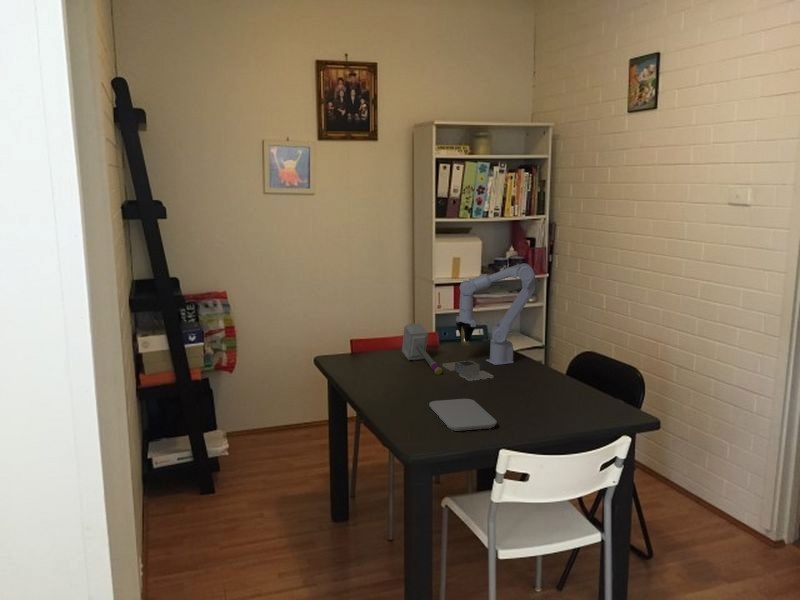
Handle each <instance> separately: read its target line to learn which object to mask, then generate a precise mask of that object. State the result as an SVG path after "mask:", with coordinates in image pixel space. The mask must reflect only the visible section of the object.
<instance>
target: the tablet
mask: <svg viewBox="0 0 800 600" xmlns="http://www.w3.org/2000/svg"><path fill="white" fill-rule="evenodd" d="M428 406H429V408H431V409H432V410H433V411H434V412H435V413H436V414H437V415H438V416H439V418H440V419H441V420H442V421H443V422H444V423H445V424H446V425H447V427H448V428H449V429H451V430H454V431H460V430H461V431H462V430H472V429H482V428H484V429H485V428H491V427H494V428H495V426H497V420H496V419H495V418H494V417H493V416H492V415H491V414H490V413H488V412H487V411H486V410H485V409H484V408H483V407H482V406H481V405H480V404H479V403H477V402H476V401H475V400H473V399H471V398H458V399H457V398H456V399H445V400H444V399H441V400H433V401H430V402H429V405H428ZM432 410H431V411H432ZM433 411H432V412H433ZM434 412H433V413H434ZM435 413H434V414H435ZM436 414H435V415H436ZM437 415H436V416H437ZM438 416H437V417H438ZM439 418H438V419H439ZM440 419H439V420H440ZM441 420H440V421H441ZM442 421H441V422H442ZM443 422H442V423H443ZM444 423H443V424H444ZM445 424H444V425H445ZM447 427H446V428H447ZM448 428H447V429H448ZM449 429H448V430H449Z"/></svg>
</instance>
